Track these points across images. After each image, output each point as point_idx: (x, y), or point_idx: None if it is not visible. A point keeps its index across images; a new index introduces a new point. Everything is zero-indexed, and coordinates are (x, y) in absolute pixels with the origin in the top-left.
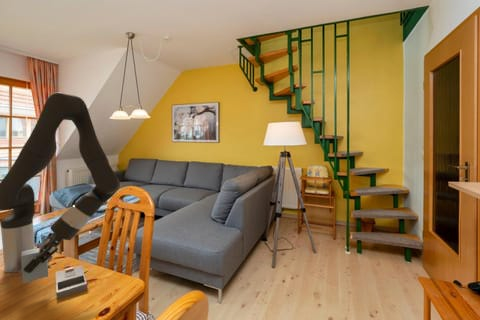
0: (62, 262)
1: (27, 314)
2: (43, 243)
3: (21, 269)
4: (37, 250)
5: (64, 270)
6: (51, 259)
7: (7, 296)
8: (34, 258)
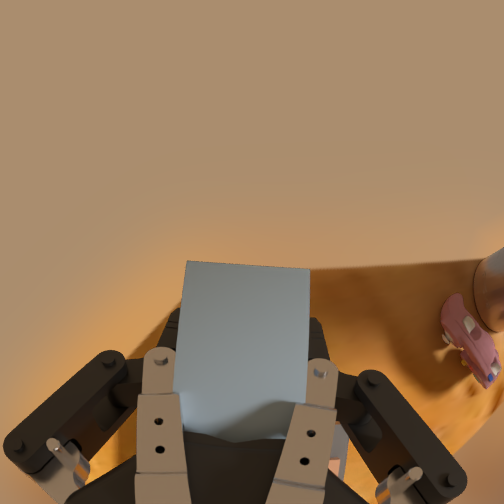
0: (464, 415)
1: (161, 327)
2: (284, 446)
3: (457, 299)
4: (231, 384)
5: (338, 454)
6: (481, 384)
7: (331, 275)
8: (148, 352)
